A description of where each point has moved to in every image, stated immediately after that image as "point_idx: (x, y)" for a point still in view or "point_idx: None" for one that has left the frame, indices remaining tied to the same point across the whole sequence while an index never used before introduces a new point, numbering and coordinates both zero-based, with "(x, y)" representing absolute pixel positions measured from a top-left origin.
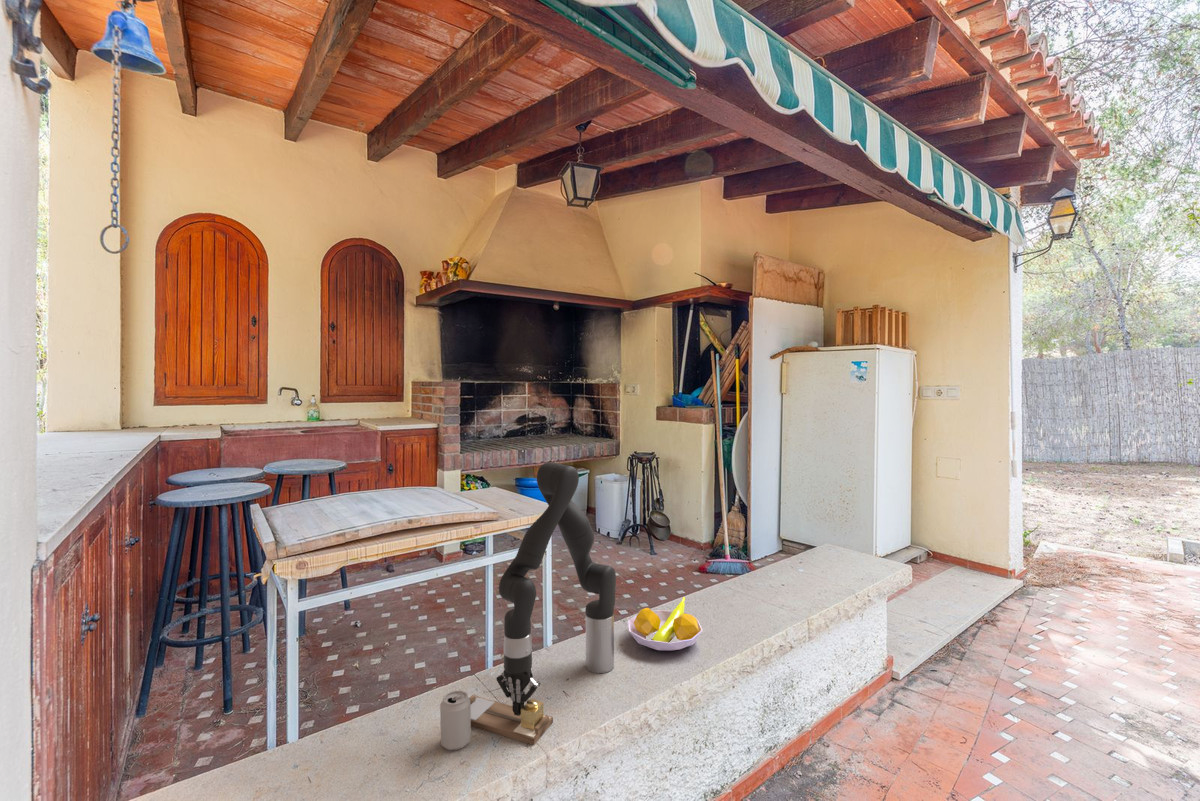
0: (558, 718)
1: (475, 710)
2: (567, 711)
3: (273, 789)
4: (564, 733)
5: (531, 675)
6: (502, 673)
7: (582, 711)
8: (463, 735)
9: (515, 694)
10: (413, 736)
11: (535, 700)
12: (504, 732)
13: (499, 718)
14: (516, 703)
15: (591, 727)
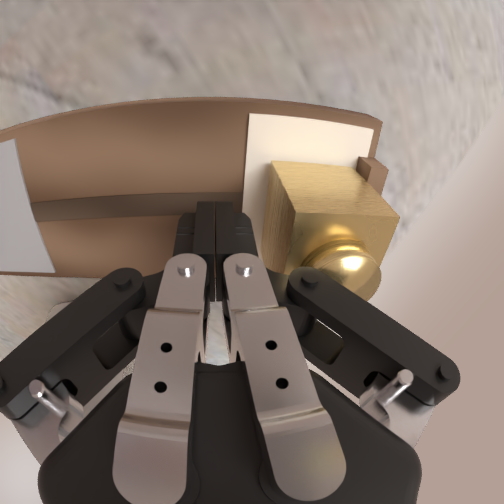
0: (382, 79)
1: (9, 229)
2: (403, 24)
3: None
4: (421, 172)
5: (407, 477)
6: (1, 412)
7: (453, 27)
8: (123, 370)
9: (205, 340)
10: (10, 327)
11: (362, 269)
12: None
13: (118, 225)
14: (219, 297)
15: (486, 124)
